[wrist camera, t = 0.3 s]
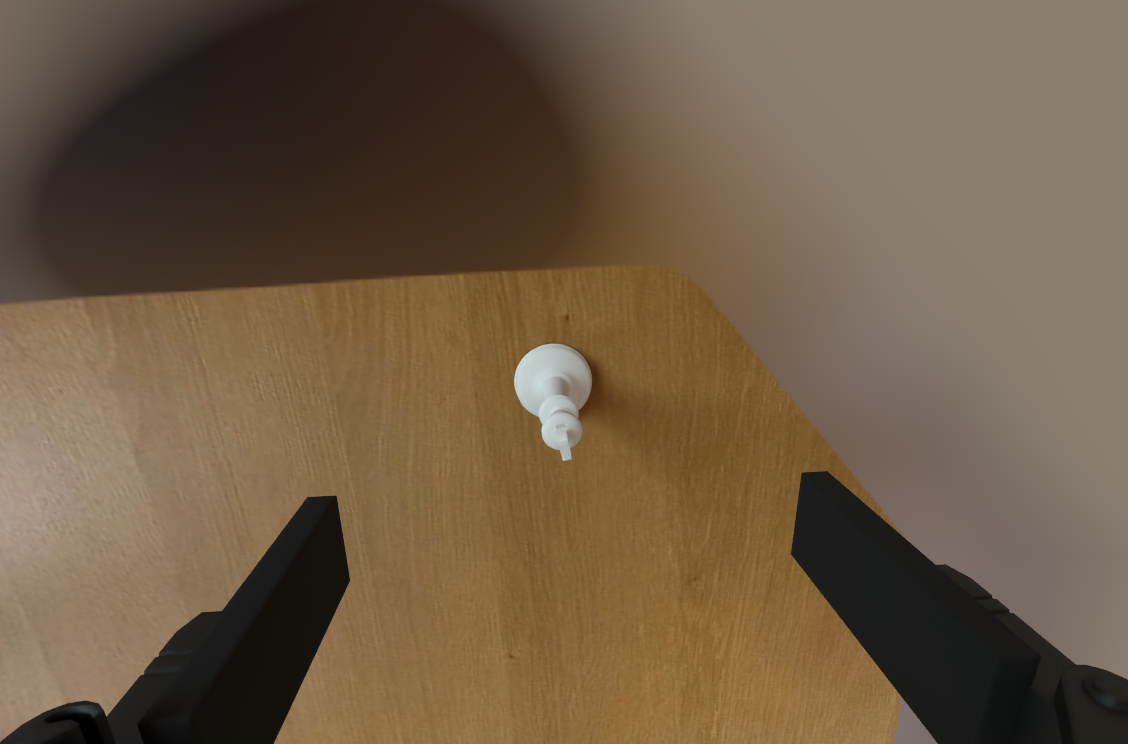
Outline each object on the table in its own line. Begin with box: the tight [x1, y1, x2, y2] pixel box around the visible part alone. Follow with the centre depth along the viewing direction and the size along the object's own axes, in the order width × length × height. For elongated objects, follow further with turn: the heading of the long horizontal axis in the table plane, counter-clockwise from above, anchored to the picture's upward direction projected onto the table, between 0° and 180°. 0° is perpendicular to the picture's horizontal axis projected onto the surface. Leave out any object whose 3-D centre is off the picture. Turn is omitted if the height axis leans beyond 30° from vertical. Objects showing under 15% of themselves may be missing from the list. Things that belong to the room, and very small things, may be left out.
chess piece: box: [514, 344, 592, 461], centre depth 29 cm, size 5×5×10 cm
